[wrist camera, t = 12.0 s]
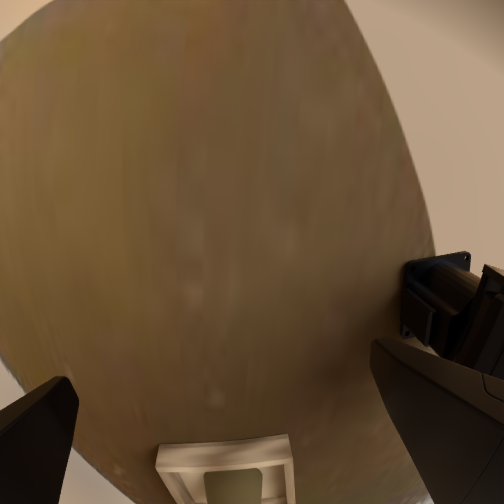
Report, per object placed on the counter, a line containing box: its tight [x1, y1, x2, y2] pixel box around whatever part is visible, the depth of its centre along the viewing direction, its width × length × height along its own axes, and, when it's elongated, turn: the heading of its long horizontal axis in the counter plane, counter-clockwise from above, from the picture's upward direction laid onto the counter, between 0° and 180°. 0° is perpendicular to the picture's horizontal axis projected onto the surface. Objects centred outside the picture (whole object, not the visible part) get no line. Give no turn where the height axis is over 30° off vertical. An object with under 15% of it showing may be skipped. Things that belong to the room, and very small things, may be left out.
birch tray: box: [155, 434, 295, 504], centre depth 26 cm, size 12×12×3 cm
